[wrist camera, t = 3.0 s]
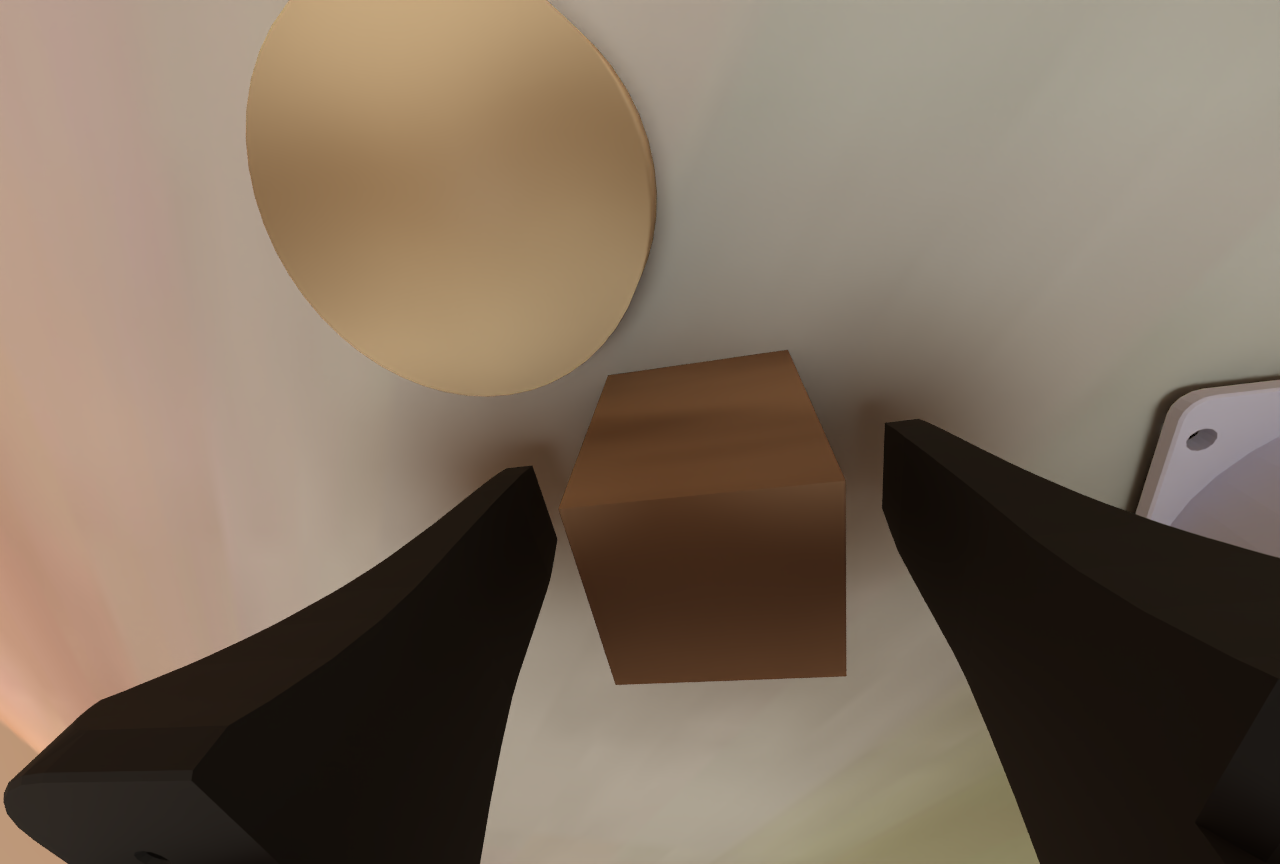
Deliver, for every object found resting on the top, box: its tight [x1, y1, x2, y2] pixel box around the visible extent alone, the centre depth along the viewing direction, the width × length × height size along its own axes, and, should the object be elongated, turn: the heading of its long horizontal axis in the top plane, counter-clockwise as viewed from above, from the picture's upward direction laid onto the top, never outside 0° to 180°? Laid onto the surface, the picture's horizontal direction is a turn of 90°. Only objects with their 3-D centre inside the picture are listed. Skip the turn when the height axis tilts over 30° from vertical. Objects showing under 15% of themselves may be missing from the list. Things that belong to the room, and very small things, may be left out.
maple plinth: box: [246, 0, 657, 397], centre depth 9 cm, size 7×7×2 cm
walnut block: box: [559, 350, 846, 685], centre depth 10 cm, size 4×4×5 cm
